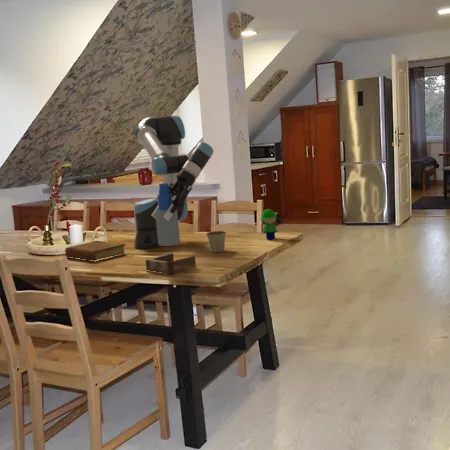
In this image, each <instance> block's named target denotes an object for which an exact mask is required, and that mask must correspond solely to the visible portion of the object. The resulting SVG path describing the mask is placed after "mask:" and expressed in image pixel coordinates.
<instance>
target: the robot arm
mask: <svg viewBox="0 0 450 450" xmlns="http://www.w3.org/2000/svg"><path fill="white" fill-rule="evenodd" d="M185 138H186V129H185V125H184V122H183V120H182V118H181V117H180V116H178V115H161V116H149V117H146V118H144V119H143V120H141V121H139V123H138V124H137V126H136V129H135V139H136V140H137V142H138V143H139V144H140V145H141V146H143V147H144V149H145V151H146V152H147V154H148V156H150V158H151V170H152V173H153V174H154V175H156V176H162V183H167V184H168V188H169V190H170V193H172V201H173V202H172V203H173V204H171V206H170V207H169V209H168V210H167V212H166V213H165V215H164V216H163V217H164V218H165V219H166V220H167V221H169V220H170V218H171V217H172V215H173V213H174V212H175V210H177V215H178V222H183V221H184V220H185V219H186V217H187V215H188V201H187V199H188V198H187V197H188V196H189V194H190V192H191V191H192V189H193V187H192V186H193V185H194V184H195V182H196V180H197V179H198V178H199V176H200V175H201V173H202V171H203V169H204V168H205V167H206V165H207V163H208V162H209V161H210V159H211V158H212V157H213V154H214V153H215V152H214V148H213V147H212V146H211V145H210V144H208V143H207V142H204V141H200V142H199V143H198V144H197V145H196V146H195V148H194V150H193V151H192V152H191V153H190V154H182V155H181V154H179V153H180V152H179V150H180V149H179V147H180V145H182V140H184V139H185ZM156 209H159V208H158V199H156V198H149V199H144V200H140V201H138V202H136V203H135V204H134V207H133V210H134V211H133V214H134V219H135V229H136V232H135V233H136V234H135V238H134V242H133V245H134V246H133V247H134V248H135V249H139V248H140V250H141V249H155V248H158V247H161V246H160V245H159V244H158V234H157V225H156V215H155V212H156Z"/></svg>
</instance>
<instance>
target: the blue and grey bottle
mask: <svg viewBox="0 0 450 450" xmlns="http://www.w3.org/2000/svg"><path fill="white" fill-rule="evenodd" d="M158 187H159V188H158V194H156V197H157V201H158V208H159V209H156V212H155V215H156V225H157V234H158V244H159V245H160V246H159V247H168V246H169V247H170V246H176V245H179V244H180V243H181V239H180V236H181V235H180V227H179V221H178V215H177V210H175V212H174V213H173V215H172V217H171V218H170V220H169V221H167V220H166V219H165V218H164V217H163V216H164V215H165V213H166V212H167V210H168V209H169V207H170V206H171V204H173V203H172V202H173V201H172V193H170V190H169V188H168V184H167V183H163V182H162V183H158Z"/></svg>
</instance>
